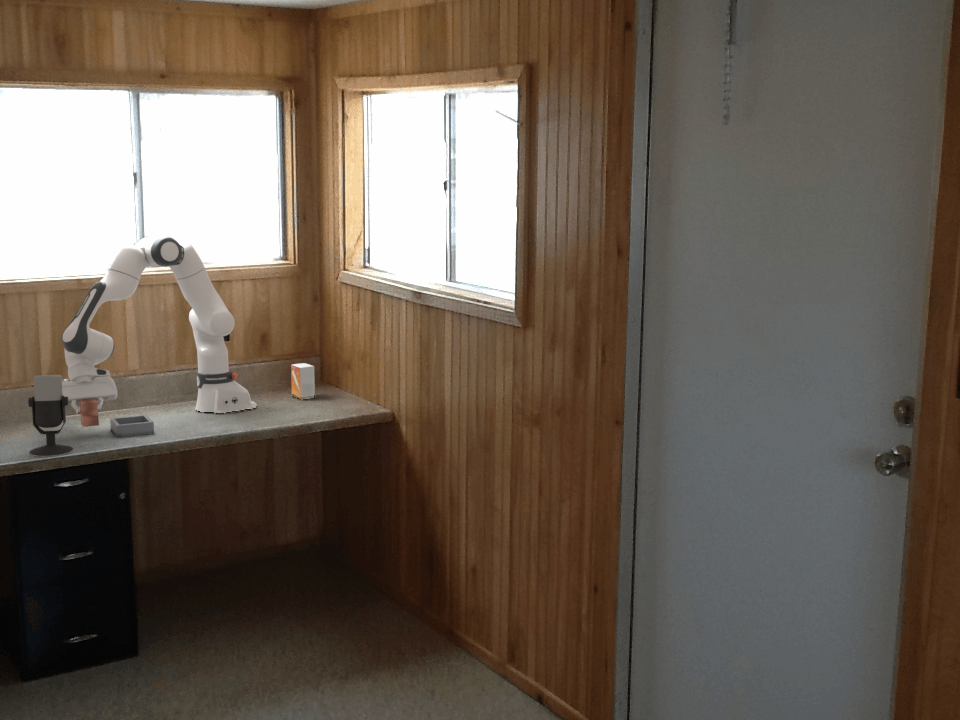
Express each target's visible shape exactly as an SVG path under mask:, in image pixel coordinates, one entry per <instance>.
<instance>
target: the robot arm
mask: <svg viewBox="0 0 960 720" xmlns="http://www.w3.org/2000/svg"><path fill="white" fill-rule="evenodd" d="M147 267H152V268H161V267H166V268H168V267H169V269H170V270H171V271H172V273H173V276H174V279H175V281H176V283H177V285H178V287H179V289H180V290H181V291H180V292H181V294H182V296H183V297H184V299H185V301H186V302H187V303H188V305H189V306H190V307H191V310H190V311H189V312H188V313H189V315H188V321H189V323H190V326H191V328H192V333H193V338H194V343H195V349H196V353H197V354H196V355H197V357H196V358H197V372H196V386H197V398H196V399H197V400H196V404H195V408H194V411H196V410H197V411H196V412H198V411H200V412H199V413H204V412H214V413H213V414H216V413H224V412H230V411H236V410H242V409H247V408H254V407H256V406H257V407H258V405H257V403H256V402H255V401H253V400H252V399H251V395H250V393H249V391H248V389H247V388H245V387H244V386H242V385H241V384H240V383H238V382H237V381H235V380H236V379H237V378H238V377H239V375H238V374H237V372H233V371H231V370H229V369H230V368H229V350H228V347H227V345H226V342H225V338H224V337H226V336H228V335H230V333H232V332H233V330H234V328H235V324H236V323H235V322H236V321H235V318H234V316H233V314H232V313H231V312H230V310H229V309H228V308H227V306H226V304H225V302H224V301H223V299H222V298H221V296H220V295H219V293H218V291H217V290H216V289H215V287H214V285H213V283H212V281H211V279H210V278H211V277H210V276H209V274H208V272H207V270H206V267H205V265H204V263H203V261H202V259H201V257H200V255H199V254H198V253H197V251H196V250H195V248H194V246H192V245H191V244H190V243H188V242H180V243H179V242H178V241H177V240H175V239H174V238H172V237H171V236H168V235H151V236H143V237H140V238H139V239H138V240H136V241H135V242H134V244H129V243H128V244H127V243H126V244H122V245H121V246H120V247H119V248H118V249H117V251H116V252H115V254H114V255H113V257H112V259H111V261H110V264H109V266H108V269H107V272H106V274H105V275H104V276H103V277H102V279H101V280H100V281H96V282H95V283H94V284H93V285H92V286H91V287H90V288H89V290H88V291H87V294H86V295H85V297H84V299H83V301H82V303H81V304H80V306H79V308H78V310H77V311H76V313H75V314H74V316H73V318H72V319H71V322H70V323H69V324H68V325H67V326H66V327H65V329H64V330H63V332H62V334H61V335H62V336H61V341H62V345H63V348H64V359H65V360H64V361H65V364H66V366H67V375H68V379H66V378H65V379H62V394H63V395H64V397H68V405H67V406H69V405H71V408H72V409H74V411H76V413H75V414H76V415H80V414H81V407H80V406H79V405H80V402H79V401H82V400H91V399H95V400H96V401H97V405H98V413H99V412H102V406H103V404H104V402H107V401H108V402H109V401H115V400H116V399H117V398H118V388H117V386H116V385H117V384H116V383H115V380H114V379H113V378H112V376H111V373H110V370H108V369H102V368H98V367H95V366H98V365H100V364H102V363H104V362H105V361H108V360H109V359H110V358H111V357H112V356H113V354H114V351H115V342H114V339H113V337H112V336H110V335H108V334H105V333H104V332H101V331H99V330H96V329H94V328H91V327H90V324H91V322H92V321H93V319H94V318H95V317H94V316H95V315H96V313H97V312H98V309H99V308H100V307H101V306H102V304H104V303H106V302H110V301H123V300H127V299H129V298H130V297H132V296H133V295H134V293H136V290H137V289H138V286H139V283H140V280H141V278H142V277H141V276H142V274H143V272H144V270H145V269H146V268H147ZM77 404H78V405H77ZM224 414H225V413H224Z"/></svg>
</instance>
